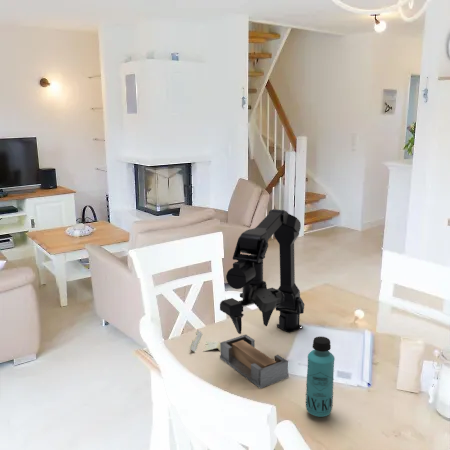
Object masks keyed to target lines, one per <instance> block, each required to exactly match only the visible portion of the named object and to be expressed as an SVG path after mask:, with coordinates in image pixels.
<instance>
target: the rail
mask: <svg viewBox="0 0 450 450" xmlns="http://www.w3.org/2000/svg"><path fill="white" fill-rule="evenodd" d="M232 356H233V357H235V358H236V359H237V360H239V361H240V362H242V363H243V364H244V365H246V366H247V367H248V368H250V369H251V364H253V363H255V364H257V365H258V366H260V367H261V368H265V367H268V366H270V365H273V364H276V361H274V359H273V358H271V357H269V356H268V355H266V354H265V353H264V352H262V351H261V350H259V349H257V348H256V347H255V348H254V347H253V346H251V345H250V344H248V343H247V342H245V341H244V340H241V341H238V342H235V343H232Z"/></svg>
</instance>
